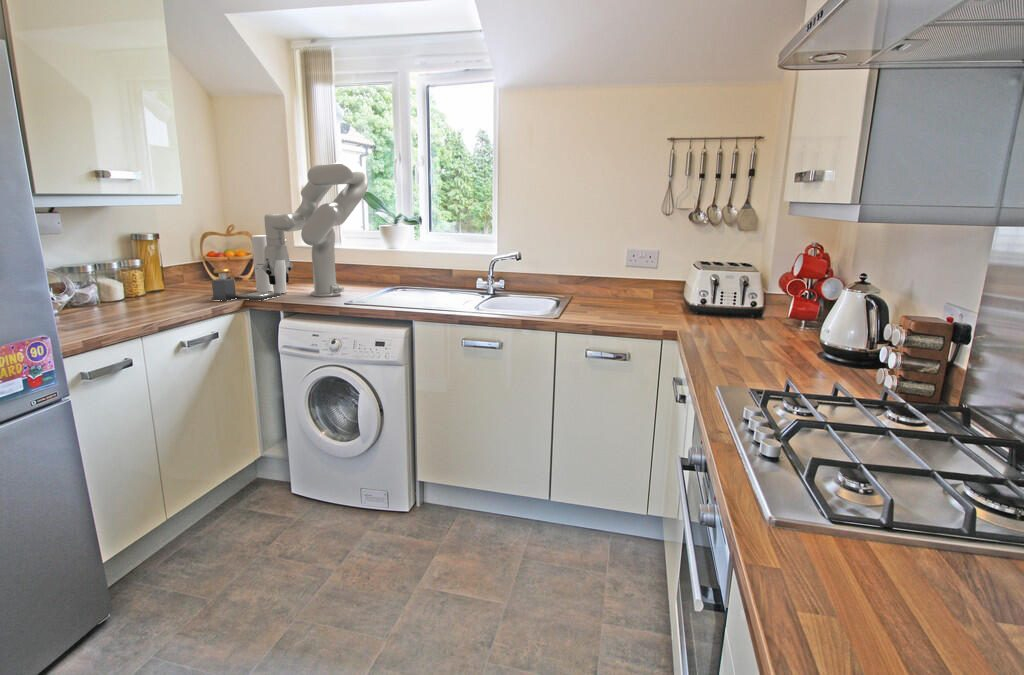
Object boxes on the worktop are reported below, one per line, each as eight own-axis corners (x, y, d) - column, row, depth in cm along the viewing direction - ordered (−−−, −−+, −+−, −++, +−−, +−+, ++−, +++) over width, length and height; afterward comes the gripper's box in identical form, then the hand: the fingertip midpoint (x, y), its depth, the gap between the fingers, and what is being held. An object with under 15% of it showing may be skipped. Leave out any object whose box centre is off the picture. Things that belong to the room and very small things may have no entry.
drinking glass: (291, 292, 259) (287, 258, 256) (283, 294, 253) (280, 260, 249) (276, 291, 260) (273, 258, 256) (269, 294, 253) (265, 260, 250)
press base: (280, 296, 249) (278, 277, 247) (253, 303, 232) (251, 282, 230) (241, 294, 253) (239, 275, 251) (211, 300, 237) (209, 280, 235)
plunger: (235, 288, 240) (233, 269, 238) (224, 290, 235) (222, 270, 233) (223, 287, 242) (220, 268, 240) (212, 290, 236) (210, 270, 234)
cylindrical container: (269, 292, 258) (264, 236, 252) (253, 292, 258) (248, 236, 252) (276, 290, 265) (271, 235, 259) (260, 289, 265) (255, 235, 259)
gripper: (286, 241, 260) (290, 280, 264) (252, 243, 246) (256, 285, 250) (297, 241, 256) (300, 281, 261) (263, 244, 242) (267, 286, 246)
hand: (279, 283), depth 255 cm, fingers closed on drinking glass, 6 cm apart
